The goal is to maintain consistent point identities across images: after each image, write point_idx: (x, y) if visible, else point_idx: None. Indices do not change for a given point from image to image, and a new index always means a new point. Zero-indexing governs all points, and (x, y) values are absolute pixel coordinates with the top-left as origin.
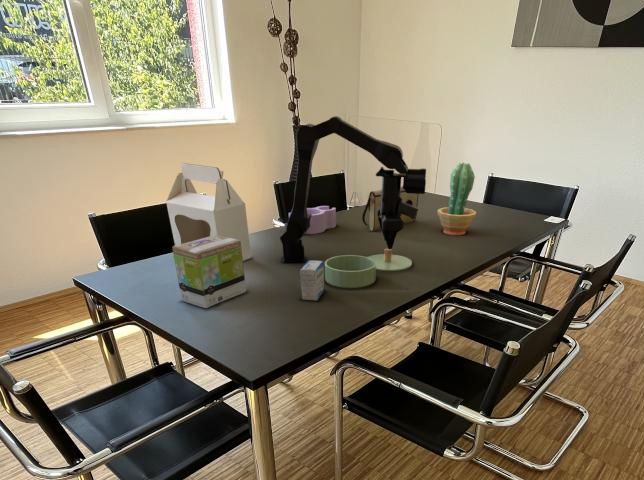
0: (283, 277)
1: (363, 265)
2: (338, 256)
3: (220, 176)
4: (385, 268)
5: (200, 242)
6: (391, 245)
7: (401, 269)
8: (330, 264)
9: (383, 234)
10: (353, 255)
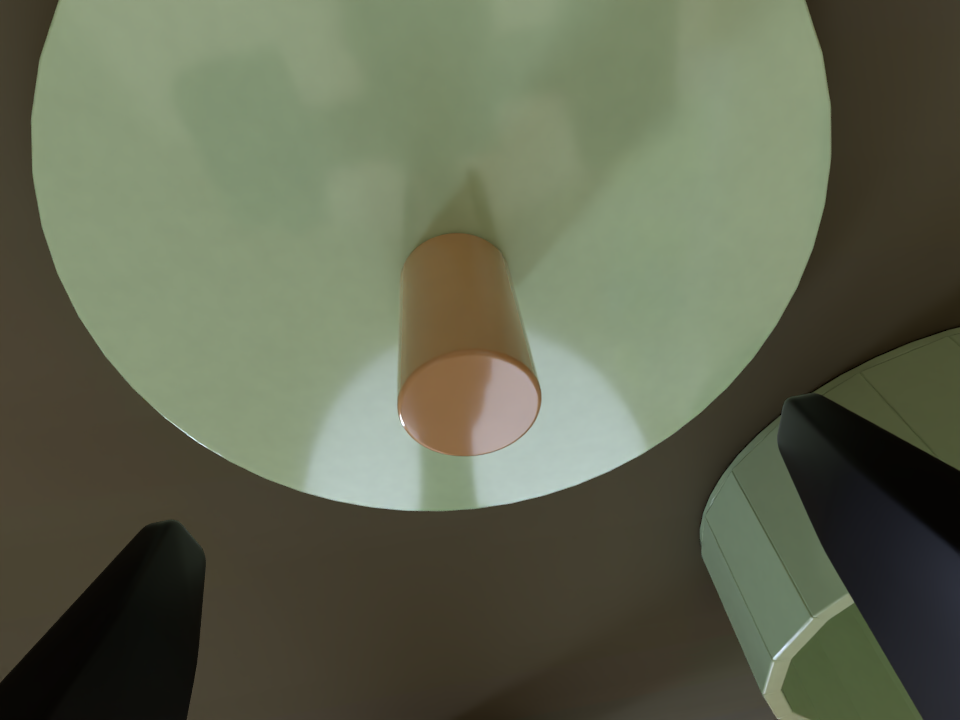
0: (759, 716)
1: None
2: (795, 714)
3: None
4: (764, 275)
5: None
6: (891, 461)
7: (809, 23)
8: (826, 680)
9: (182, 713)
10: (786, 656)
